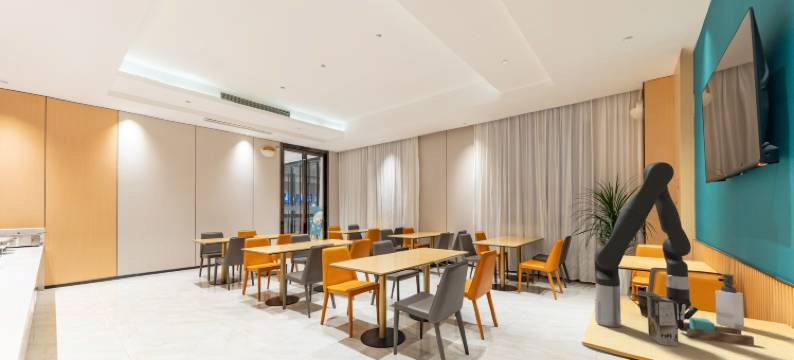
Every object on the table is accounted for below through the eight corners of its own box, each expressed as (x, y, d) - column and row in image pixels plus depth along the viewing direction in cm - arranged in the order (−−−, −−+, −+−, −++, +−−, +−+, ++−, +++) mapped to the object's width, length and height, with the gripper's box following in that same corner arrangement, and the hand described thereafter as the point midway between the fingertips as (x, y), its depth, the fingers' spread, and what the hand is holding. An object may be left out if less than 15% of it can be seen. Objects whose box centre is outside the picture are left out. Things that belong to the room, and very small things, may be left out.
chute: (688, 337, 138) (688, 329, 139) (679, 328, 148) (678, 321, 148) (754, 345, 131) (753, 337, 131) (739, 335, 140) (739, 328, 141)
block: (696, 336, 139) (695, 321, 140) (689, 331, 145) (689, 317, 145) (714, 339, 137) (714, 323, 137) (707, 333, 143) (707, 318, 143)
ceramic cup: (661, 314, 165) (660, 293, 166) (664, 321, 157) (663, 298, 157) (628, 310, 172) (628, 289, 173) (629, 315, 164) (629, 294, 164)
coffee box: (679, 346, 130) (677, 302, 131) (659, 344, 131) (658, 301, 132) (665, 336, 139) (664, 295, 140) (647, 335, 140) (646, 294, 141)
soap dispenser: (713, 324, 154) (711, 273, 155) (725, 322, 156) (723, 272, 158) (731, 329, 147) (729, 277, 149) (744, 327, 150) (741, 275, 151)
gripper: (661, 286, 143) (662, 329, 143) (701, 290, 139) (703, 334, 138) (655, 282, 150) (656, 323, 150) (693, 285, 146) (694, 327, 145)
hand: (679, 328), depth 144 cm, fingers closed
